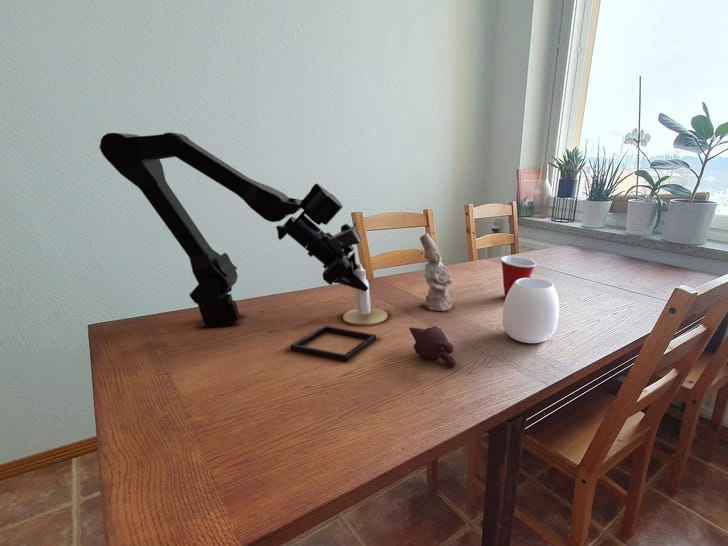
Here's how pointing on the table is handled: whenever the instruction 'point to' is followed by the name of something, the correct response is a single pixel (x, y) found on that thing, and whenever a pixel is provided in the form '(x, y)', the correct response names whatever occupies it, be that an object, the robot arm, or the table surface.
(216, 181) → the robot arm
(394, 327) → the table surface
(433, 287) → the figurine
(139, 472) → the table surface
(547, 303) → the white vase
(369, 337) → the empty black square frame
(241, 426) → the table surface
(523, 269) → the plastic cup
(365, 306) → the eye dropper bottle
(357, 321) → the cork trivet
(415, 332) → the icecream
